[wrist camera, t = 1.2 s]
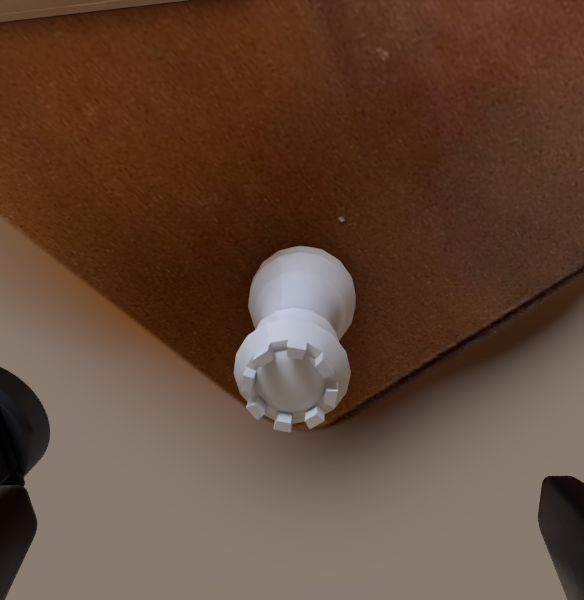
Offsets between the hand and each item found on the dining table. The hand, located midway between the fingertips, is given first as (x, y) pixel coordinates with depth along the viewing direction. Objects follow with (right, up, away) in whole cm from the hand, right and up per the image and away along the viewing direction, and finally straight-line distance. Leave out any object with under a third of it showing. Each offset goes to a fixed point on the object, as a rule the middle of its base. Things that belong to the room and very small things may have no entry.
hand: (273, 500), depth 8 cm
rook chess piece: (+1, +4, +12) cm, 12 cm away
